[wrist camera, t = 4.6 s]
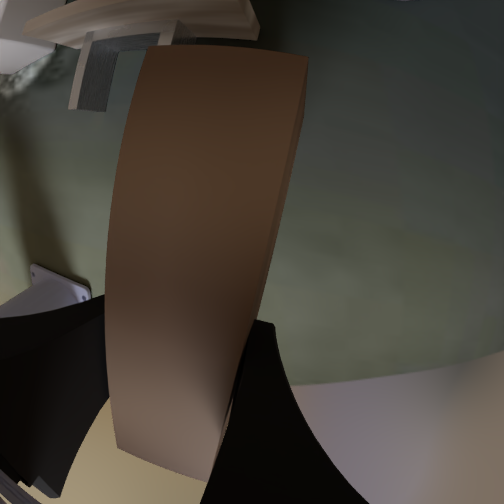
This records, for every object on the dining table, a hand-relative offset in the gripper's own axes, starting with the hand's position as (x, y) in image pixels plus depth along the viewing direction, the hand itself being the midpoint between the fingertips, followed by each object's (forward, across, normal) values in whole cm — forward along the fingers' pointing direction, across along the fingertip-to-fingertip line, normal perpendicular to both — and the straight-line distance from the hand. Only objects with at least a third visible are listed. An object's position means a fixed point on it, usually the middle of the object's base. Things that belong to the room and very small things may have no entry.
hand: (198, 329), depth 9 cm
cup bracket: (+9, +9, -10) cm, 16 cm away
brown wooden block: (+2, 0, -1) cm, 3 cm away
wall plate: (+9, +9, -13) cm, 18 cm away
